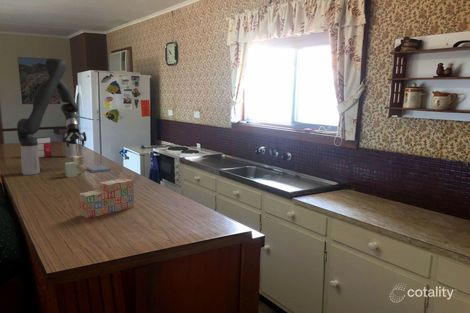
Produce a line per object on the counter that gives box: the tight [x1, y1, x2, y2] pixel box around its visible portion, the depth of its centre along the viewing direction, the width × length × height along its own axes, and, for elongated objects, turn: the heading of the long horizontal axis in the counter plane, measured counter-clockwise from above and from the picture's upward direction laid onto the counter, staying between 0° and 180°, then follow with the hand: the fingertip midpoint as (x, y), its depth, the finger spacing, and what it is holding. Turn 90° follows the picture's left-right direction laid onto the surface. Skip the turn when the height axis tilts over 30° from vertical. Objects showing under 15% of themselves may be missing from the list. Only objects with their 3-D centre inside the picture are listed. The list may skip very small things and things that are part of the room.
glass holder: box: [64, 136, 84, 159], centre depth 292 cm, size 9×14×15 cm, turn 115°
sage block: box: [64, 161, 78, 178], centre depth 224 cm, size 5×5×8 cm
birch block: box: [72, 155, 86, 175], centre depth 234 cm, size 5×5×10 cm
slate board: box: [85, 164, 112, 174], centre depth 243 cm, size 11×13×2 cm
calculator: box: [34, 136, 52, 159], centre depth 288 cm, size 11×4×15 cm, turn 143°
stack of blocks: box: [79, 178, 135, 219], centre depth 159 cm, size 21×6×12 cm, turn 138°
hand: (75, 146), depth 242 cm, fingers open, 8 cm apart
